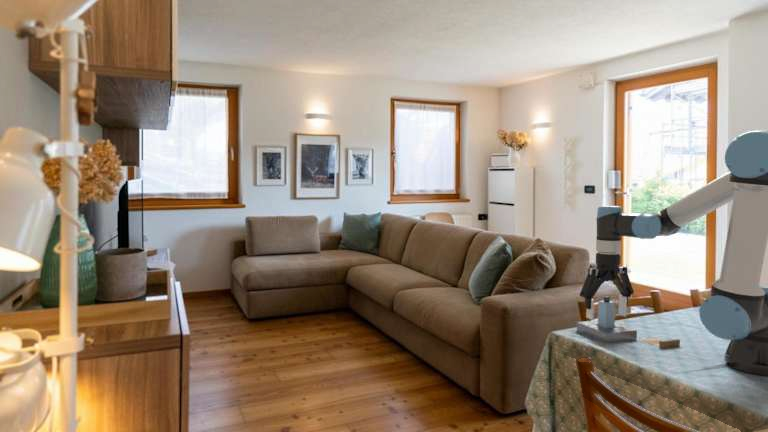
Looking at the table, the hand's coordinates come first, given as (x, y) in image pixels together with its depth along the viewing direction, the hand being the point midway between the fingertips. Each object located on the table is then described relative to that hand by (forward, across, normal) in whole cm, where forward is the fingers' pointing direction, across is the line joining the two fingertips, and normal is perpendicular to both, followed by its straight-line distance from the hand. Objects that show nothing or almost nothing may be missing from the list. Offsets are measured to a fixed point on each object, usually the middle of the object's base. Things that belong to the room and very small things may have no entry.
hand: (606, 317), depth 171 cm
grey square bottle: (+7, 0, 0) cm, 7 cm away
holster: (+7, -10, +12) cm, 17 cm away
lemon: (+7, -13, -14) cm, 20 cm away
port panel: (+7, 0, 0) cm, 7 cm away
